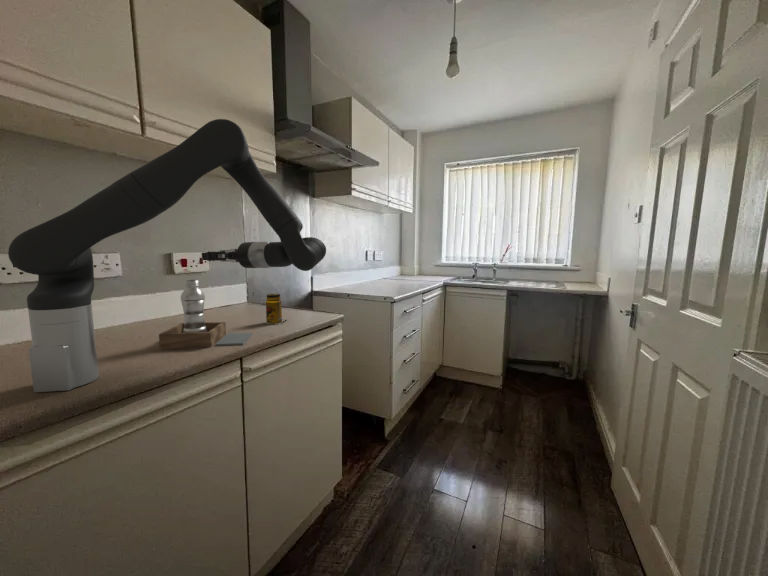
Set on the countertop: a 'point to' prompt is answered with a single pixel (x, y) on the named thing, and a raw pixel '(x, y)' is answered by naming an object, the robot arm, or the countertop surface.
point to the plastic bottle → (193, 307)
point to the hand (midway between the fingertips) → (215, 256)
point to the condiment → (273, 309)
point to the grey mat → (234, 339)
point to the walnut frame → (192, 336)
